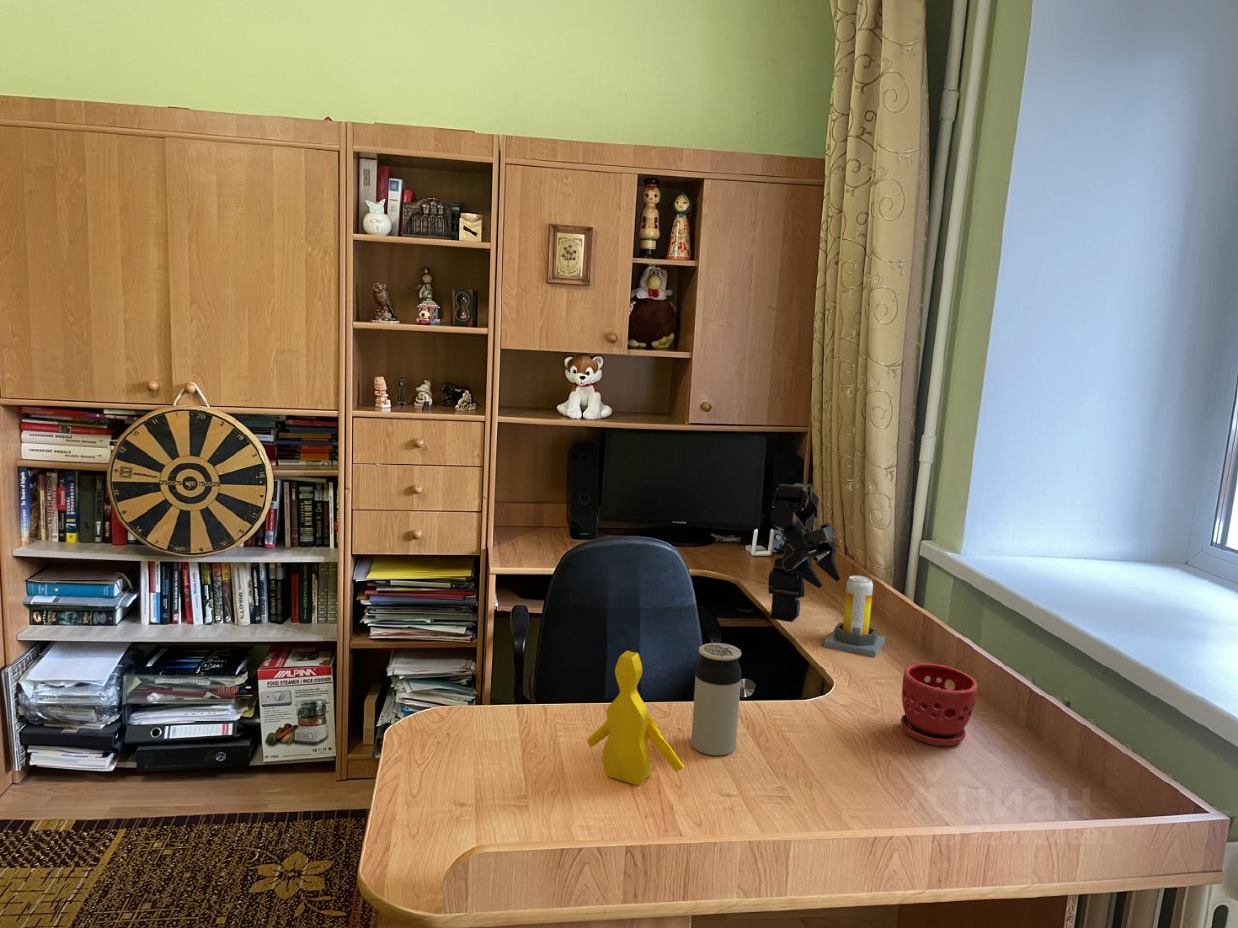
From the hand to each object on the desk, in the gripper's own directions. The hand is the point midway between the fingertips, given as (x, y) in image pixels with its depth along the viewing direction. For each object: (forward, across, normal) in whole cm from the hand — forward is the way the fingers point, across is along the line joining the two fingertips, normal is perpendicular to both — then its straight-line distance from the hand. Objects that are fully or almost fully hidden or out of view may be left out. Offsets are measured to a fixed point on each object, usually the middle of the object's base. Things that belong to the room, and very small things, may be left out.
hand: (829, 583), depth 216 cm
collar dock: (+15, 0, +4) cm, 16 cm away
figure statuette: (+18, -88, +2) cm, 90 cm away
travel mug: (+20, -69, 0) cm, 72 cm away
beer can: (+14, 0, +3) cm, 14 cm away
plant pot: (+39, -35, -19) cm, 56 cm away
